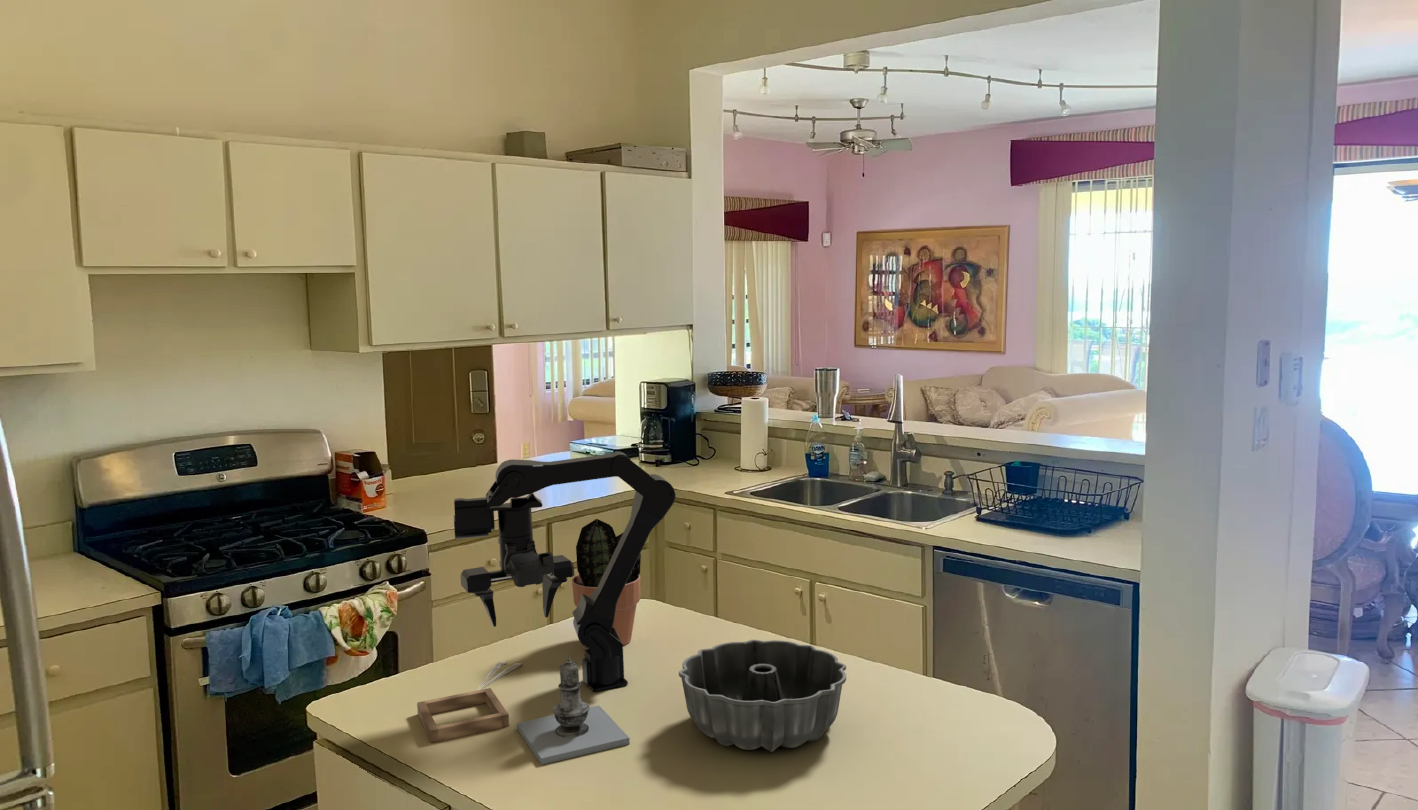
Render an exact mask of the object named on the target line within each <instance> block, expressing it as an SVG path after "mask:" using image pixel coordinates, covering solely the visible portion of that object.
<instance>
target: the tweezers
mask: <svg viewBox="0 0 1418 810" xmlns="http://www.w3.org/2000/svg"><path fill="white" fill-rule="evenodd" d="M507 663H508V661H506V660H505V661H504V662H502V661H498V662H497V663H496V664H495V665H493V667H492V668H491V670H490V671H489V673H488V674H487V675H486V676H485V678H484V679H483V681H482V682H481V683H480V685H479V686H478V687H477V688H476V690H475V691H477V690H478V689H479V688H480V687H481V686H482V687H481V688H480V689H479V690H482V689H483V688H484V687H485V688H487V687H488V686H489V685H491V684H493V683H494V682H495V681H498V680H499V679H501V678H503V677H504V676H505V675H507V674H509V673H511V672H512V671H514V670H516V669H518V668H520V667H521V666H522V665H523V664H522V663H521V662H518V661H517V662H515V663H513V664H512V665H509V666H508V667H507V668H505V669H503V670H502V671H501V672H499V673H498V674H496V676H494V677H493V675H495V673H497V671H498V670H500V668H501V667H502V666H504V665H505V666H506V665H507ZM491 677H493V678H491ZM488 678H489V679H490V678H491V679H490V680H489V679H488ZM487 679H488V680H487ZM486 680H487V681H488V682H487V681H486ZM486 682H487V683H486ZM485 683H486V684H485ZM484 684H485V685H484ZM486 686H487V687H486ZM485 688H484V689H485Z"/></svg>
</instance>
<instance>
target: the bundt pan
mask: <svg viewBox="0 0 1418 810" xmlns="http://www.w3.org/2000/svg"><path fill="white" fill-rule="evenodd" d="M846 670H847V665H846V664H845V663H842V662H840V661H839V659H838V657H837V656H836V655H835V654H833V653H831V652H829V651H826V650H823V649H817V648H816V647H815V646H813V645H811V644H799V643H796V642H793V641H788V640H780V639H778V640H775V639H774V640H773V639H772V640H770V639H769V640H761V639H749V640H746V641H730V642H729V641H728V642H723V643H719V644H717V645H714V646H712V647H710V648H703V649H702V648H701V649H699V650H698V651H697V653H696V654H693V655H691V656H689V657H687V658H685V659H684V660H683V661H682V669H681V670H679V671H678V677H680V678H681V683H682V688H683V693H684V699H685V703H686V704H685V706H686V709H687V712H688V714H689V717H690V718H691V719H692V720H693V722H694V723H695V725H696V726H697V728H698V730H699V731H701V732H702V733H703V734H704V735H706V736H708V737H709V738H712V739H715V740H716V741H717V742H718V743H719V744H720V745H722V746H726V747H729V746H732V745H735V746H736V747H738V748H740V749H741V750H746V751H751V750H756V749H759V748H761V747H762V748H764V749H765V750H766V751H768V752H769V753H770V752H771V753H772V752H774V751H775V750H777V749H778V748H780V747H782V748H786V749H792V748H797V747H800V746H801V745H803V744H804V743H811V742H815V741H817V740H819V739H820V738H821V737H823V735H824V734H825V732H826V730H828V729H829V728H831V726H832V725H833V724H834V722H835V720H836V718H837V715H838V712H839V707H840V702H841V701H840V699H841V694H842V688H843V685H844V684H845V683H846V681H847V673H846V672H845V671H846Z"/></svg>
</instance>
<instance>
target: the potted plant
mask: <svg viewBox="0 0 1418 810" xmlns="http://www.w3.org/2000/svg"><path fill="white" fill-rule="evenodd" d="M623 533H624V531H623V532H622V533H620V534H618V535H616V533H615V530H614V528H613V526H611V524H610V523H607V522H606V521H605V522H604V521H603V520H601V519H598V518H595V519H594V520H592V521H591V522H589V523H587V524H585V525H584V526H583V527H581V530H580V533H579V536H578V538H577V542H576V546H575V552H576V553H575V554H576V569H577V573H578V574H576V575H574V576H573V577H572V579H571V585H572V586H571V587H572V593H573V594H572V596H573V603H574V606H575V607H577V606H578V604H579V601H580V597H581V595H582V594H584V595H586V596H588V597H589V596H590V595H591V594H592V593H593V592H594V591H595V590H596V589H597V587H598V585H599V583H600V581H601V579H602V576H603V574H604V572H605V570H606V568H607V566H608V564H609V562H610V560H611V558H612V556H613V554H614V551H615V549H616V547H617V545H618V543H619V541H620V539H621V537H622V535H623ZM641 556H642V554H641V553H640V555H639V557H638V559H637V561H636V563H635V565H634V568H633V570H632V572H631V574H630V576H629V578H628V580H627V582H626V584H625V586H624V588H623V591H622V593H621V595H620V597H619V599H618V601H617V606H616V612H615V618H614V623H613V626H612V627H613V628H615V630H616V632H617V634H618V636H619V637H620V639H621V641H622V643H623V647H624V646H627V644H629V643H630V642H631V641H632V635H633V631H634V623H635V617H636V611H637V605H638V603H639V602H640V601H641V580H642V579H641V575H640V574H641V558H642V557H641Z"/></svg>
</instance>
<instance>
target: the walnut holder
mask: <svg viewBox="0 0 1418 810" xmlns="http://www.w3.org/2000/svg"><path fill="white" fill-rule="evenodd" d="M476 690H477V689H476ZM476 690H473V691H469V692H463V693H458V694H453V695H448V696H442V697H438V698H433V699H428V700H423V701H418V702H417V703H416V707H417V715H418V717H419V720H420V722H421V724H422V725H423V728H424V730H425V732H426V734H427V737H428V739H429V740H430V741H429V742H430V743H431V744H433V743H437V742H441V741H446V740H447V741H448V740H451V739H455V738H460V737H464V736H469V735H470V736H471V735H473V734H478V733H483V732H488V731H493V730H497V729H501V728H506V727H509V726H510V717H509V716H510V715H509V712H508V711H507V710H506V708H505V707H504V705H503V704H502V702H501V701H500V700H499V698H498V697H497V695H496V694H495V693H494V691H493V690H492V688H491V687H488V688H487V687H486V688H484V689H482V690H480V689H479V690H477V691H476ZM483 704H486V705H487V707H488V708H489V710H490V711H491V713H492V714H488V715H484V716H483V715H482V716H478V717H473V718H470V719H465V720H460V721H456V722H455V721H454V722H451V723H445V724H441V725H437V723H436V722H435V719H434V717H433V714H434V715H435V714H438V713H442V712H448V711H453V710H457V709H462V708H463V709H464V708H468V707H472V706H477V705H483Z"/></svg>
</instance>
